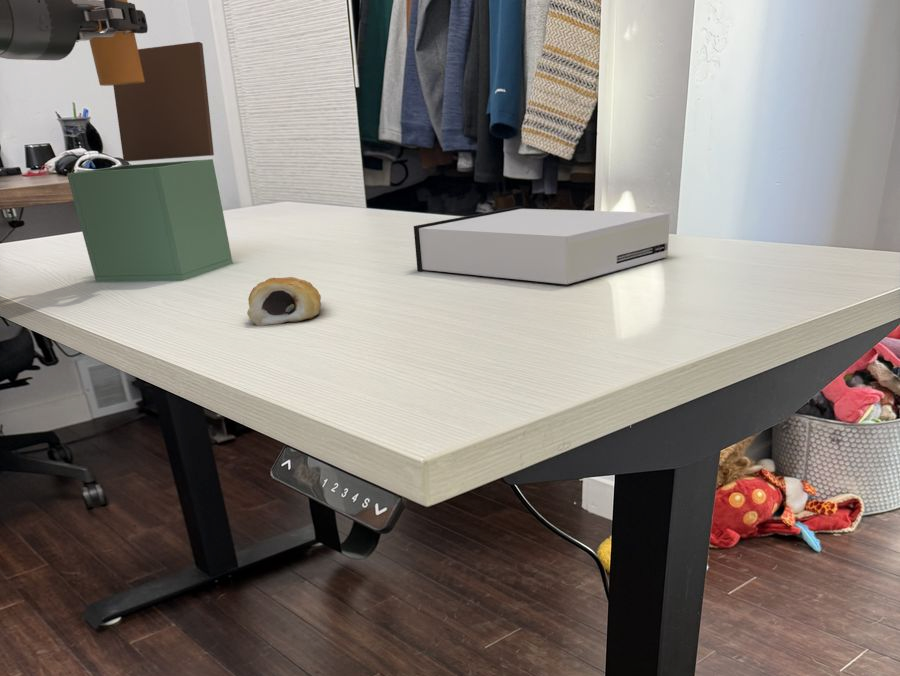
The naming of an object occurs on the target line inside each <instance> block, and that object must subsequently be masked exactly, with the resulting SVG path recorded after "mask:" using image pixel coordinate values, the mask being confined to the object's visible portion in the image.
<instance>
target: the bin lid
mask: <svg viewBox="0 0 900 676" xmlns="http://www.w3.org/2000/svg"><path fill="white" fill-rule="evenodd" d="M138 52H139V57H140V61H141V66H142V71H143V75H144V80H145V82H144V83H137V84H127V85H112V87H113V93H114V94H113V95H114V101H115V108H116V115H117V116H116V117H117V122H118V128H119V129H118V131H119V139H120V146H121V151H122V152H121V154H122V159H123V162H126V163H129V162H142V161H143V162H145V161H156V160H157V161H158V160H171V159H183V158H195V157H196V158H198V157H209V156H210V157H212V156H215V153H214V152H215V151H214V142H213V132H212V124H211V114H210V113H211V112H210V103H209V93H208V83H207V74H206V65H205V53H204V45H203V43H202V42H200V41H195V42H185V43H177V44H170V45H162V46H161V45H160V46H152V47H143V48H138Z"/></svg>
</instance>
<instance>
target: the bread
mask: <svg viewBox="0 0 900 676" xmlns="http://www.w3.org/2000/svg"><path fill="white" fill-rule="evenodd" d="M118 1H122V2H127V3H129V1H128V0H118ZM94 9H95V10H97V9H96V8H94ZM99 25H100V27H99V30H98V31H96V32H101V31H102V27H101V23H100V21H99ZM88 41H89V45H90V49H91V53H92V58H93V62H94V67H95V71H96V75H97V79H98V83H99V86H101V87H103V86H104V87H106V86H109V87H111V86H112V87H113V85H127V84H137V83H144V82H145V80H144V75H143V71H142V66H141V61H140V57H139V52H138V49H139V48H138V43H137V39H136V33H128V34H123V33H115V35H114V36H113V37H110V38H92V39H91V40H88Z"/></svg>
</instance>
